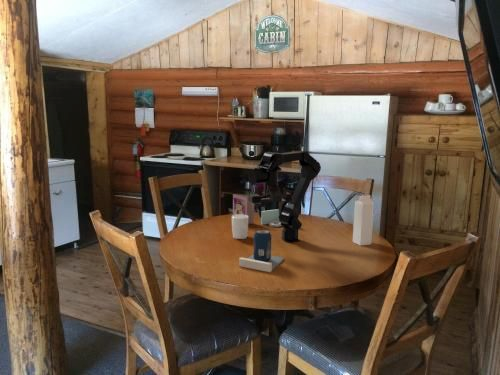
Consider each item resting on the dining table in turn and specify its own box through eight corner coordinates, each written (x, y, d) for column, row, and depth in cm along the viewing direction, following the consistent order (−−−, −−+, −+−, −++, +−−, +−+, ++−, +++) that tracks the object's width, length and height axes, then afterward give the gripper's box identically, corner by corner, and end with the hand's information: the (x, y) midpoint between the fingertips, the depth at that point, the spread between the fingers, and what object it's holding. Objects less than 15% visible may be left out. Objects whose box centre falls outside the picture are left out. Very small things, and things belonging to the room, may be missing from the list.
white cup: (249, 234, 198) (249, 214, 196) (247, 240, 190) (247, 219, 188) (232, 234, 199) (232, 213, 197) (230, 239, 191) (230, 218, 189)
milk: (352, 241, 189) (354, 194, 185) (363, 240, 192) (366, 193, 187) (360, 245, 184) (363, 197, 180) (371, 244, 186) (374, 196, 182)
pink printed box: (231, 222, 219) (231, 194, 216) (242, 219, 224) (242, 192, 221) (245, 227, 210) (245, 198, 207) (256, 224, 215) (256, 196, 212)
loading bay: (255, 254, 172) (255, 247, 172) (284, 259, 167) (284, 252, 166) (239, 266, 159) (239, 258, 159) (270, 272, 154) (270, 264, 153)
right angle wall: (260, 225, 216) (261, 211, 214) (280, 222, 221) (280, 208, 220) (272, 231, 206) (272, 216, 204) (292, 228, 211) (293, 214, 210)
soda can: (254, 256, 168) (255, 228, 166) (271, 257, 167) (272, 229, 165) (252, 262, 161) (252, 233, 159) (269, 264, 160) (270, 234, 158)
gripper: (256, 186, 168) (256, 223, 171) (298, 183, 174) (297, 219, 177) (248, 181, 178) (247, 216, 181) (287, 179, 184) (286, 213, 187)
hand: (270, 216), depth 181 cm, fingers open, 9 cm apart
